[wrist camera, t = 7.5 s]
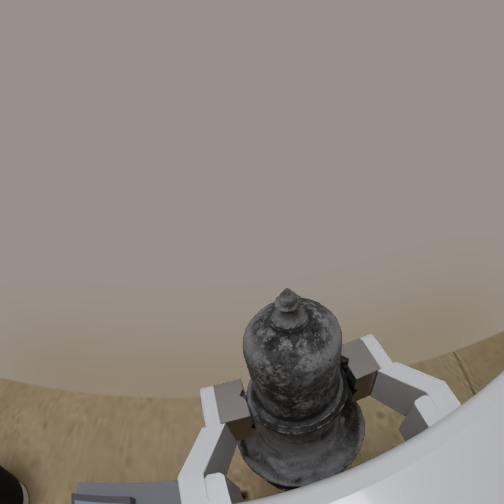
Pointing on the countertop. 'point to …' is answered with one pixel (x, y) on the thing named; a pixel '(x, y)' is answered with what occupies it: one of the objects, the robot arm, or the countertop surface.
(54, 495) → the countertop surface
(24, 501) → the dixie cup
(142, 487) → the mat
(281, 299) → the stone finial ornament
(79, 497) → the phone
